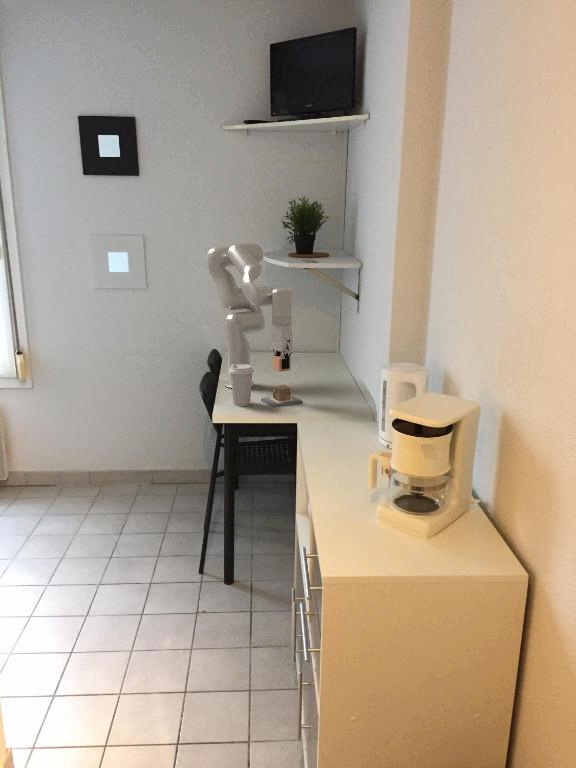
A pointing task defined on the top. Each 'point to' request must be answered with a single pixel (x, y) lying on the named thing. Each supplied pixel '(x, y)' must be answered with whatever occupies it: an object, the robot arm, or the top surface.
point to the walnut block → (281, 392)
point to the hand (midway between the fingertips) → (282, 366)
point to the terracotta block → (279, 364)
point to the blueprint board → (276, 403)
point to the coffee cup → (241, 383)
